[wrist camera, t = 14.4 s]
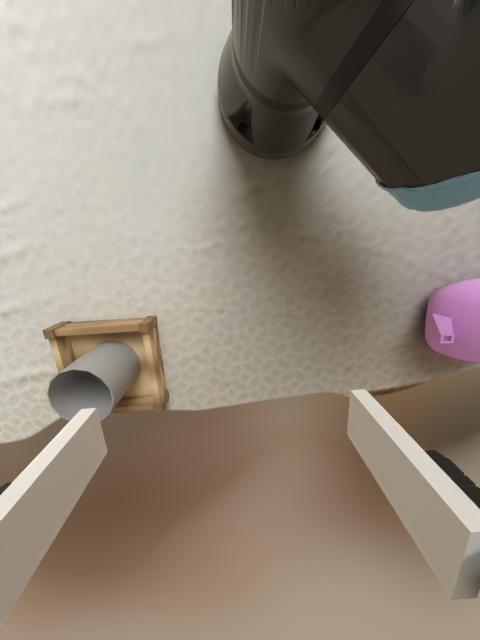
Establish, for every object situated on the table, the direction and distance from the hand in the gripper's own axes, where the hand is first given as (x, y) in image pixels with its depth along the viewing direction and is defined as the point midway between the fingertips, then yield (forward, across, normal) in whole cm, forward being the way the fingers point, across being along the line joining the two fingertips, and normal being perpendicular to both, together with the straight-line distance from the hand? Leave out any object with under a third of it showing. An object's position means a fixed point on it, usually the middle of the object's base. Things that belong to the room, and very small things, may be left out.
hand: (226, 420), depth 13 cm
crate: (+29, -20, -9) cm, 36 cm away
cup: (+28, -20, -9) cm, 36 cm away
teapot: (+29, +38, -4) cm, 48 cm away
